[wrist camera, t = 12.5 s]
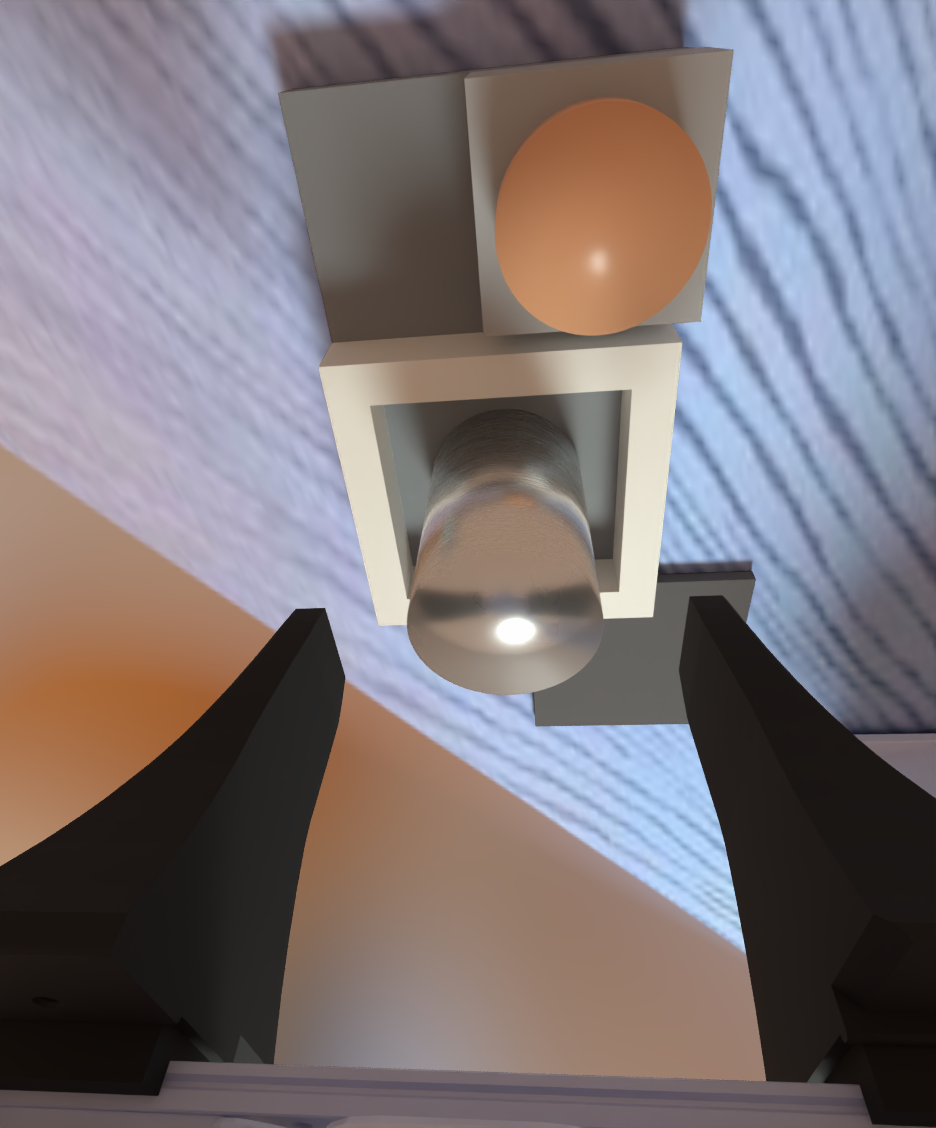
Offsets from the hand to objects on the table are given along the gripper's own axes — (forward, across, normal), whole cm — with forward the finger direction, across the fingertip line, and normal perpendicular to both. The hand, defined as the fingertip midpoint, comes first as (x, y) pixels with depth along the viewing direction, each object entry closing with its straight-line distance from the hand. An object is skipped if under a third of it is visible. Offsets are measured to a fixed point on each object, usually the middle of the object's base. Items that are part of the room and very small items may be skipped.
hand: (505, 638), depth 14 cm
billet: (+6, 0, 0) cm, 6 cm away
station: (+7, 0, -2) cm, 8 cm away
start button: (+6, -2, -7) cm, 9 cm away
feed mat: (+7, -4, +8) cm, 12 cm away
